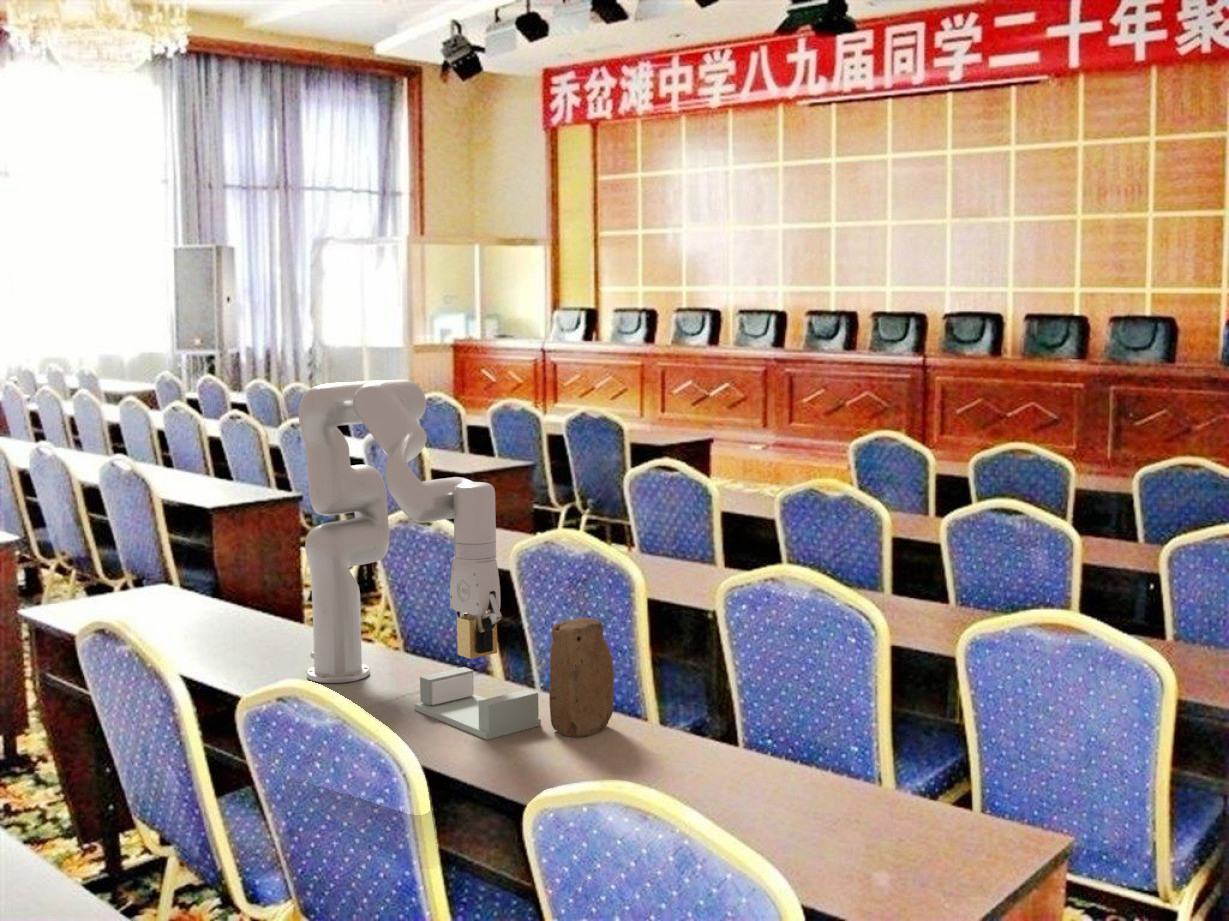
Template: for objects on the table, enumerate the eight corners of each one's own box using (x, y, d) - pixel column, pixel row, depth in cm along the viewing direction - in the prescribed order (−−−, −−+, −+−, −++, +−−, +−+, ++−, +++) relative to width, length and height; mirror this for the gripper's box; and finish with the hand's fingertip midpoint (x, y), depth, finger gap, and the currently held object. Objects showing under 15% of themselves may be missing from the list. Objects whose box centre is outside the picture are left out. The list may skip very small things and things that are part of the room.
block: (570, 741, 241) (569, 629, 239) (545, 731, 247) (544, 621, 244) (619, 729, 248) (619, 619, 245) (593, 719, 254) (593, 612, 251)
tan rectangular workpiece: (457, 654, 252) (456, 617, 252) (484, 648, 256) (483, 611, 256) (470, 658, 249) (469, 620, 249) (497, 653, 253) (496, 615, 252)
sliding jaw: (420, 701, 260) (419, 676, 259) (464, 691, 266) (464, 667, 266) (431, 706, 257) (430, 680, 256) (475, 695, 263) (475, 670, 263)
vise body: (414, 709, 260) (413, 677, 259) (467, 697, 267) (466, 666, 267) (486, 739, 242) (486, 705, 242) (540, 725, 250) (540, 692, 249)
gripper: (432, 547, 254) (434, 644, 257) (485, 560, 242) (487, 662, 244) (465, 542, 259) (467, 637, 262) (519, 554, 247) (521, 654, 249)
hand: (477, 648), depth 253 cm, fingers closed on tan rectangular workpiece, 4 cm apart
